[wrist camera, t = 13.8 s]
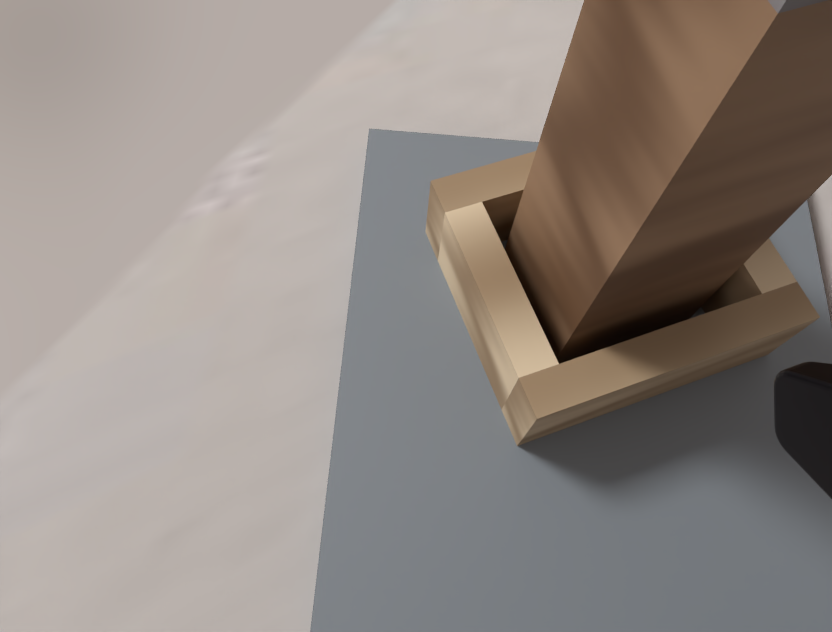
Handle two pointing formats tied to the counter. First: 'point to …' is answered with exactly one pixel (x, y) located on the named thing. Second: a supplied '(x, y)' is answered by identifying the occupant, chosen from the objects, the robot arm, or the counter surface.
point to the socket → (607, 368)
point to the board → (550, 463)
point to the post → (669, 160)
